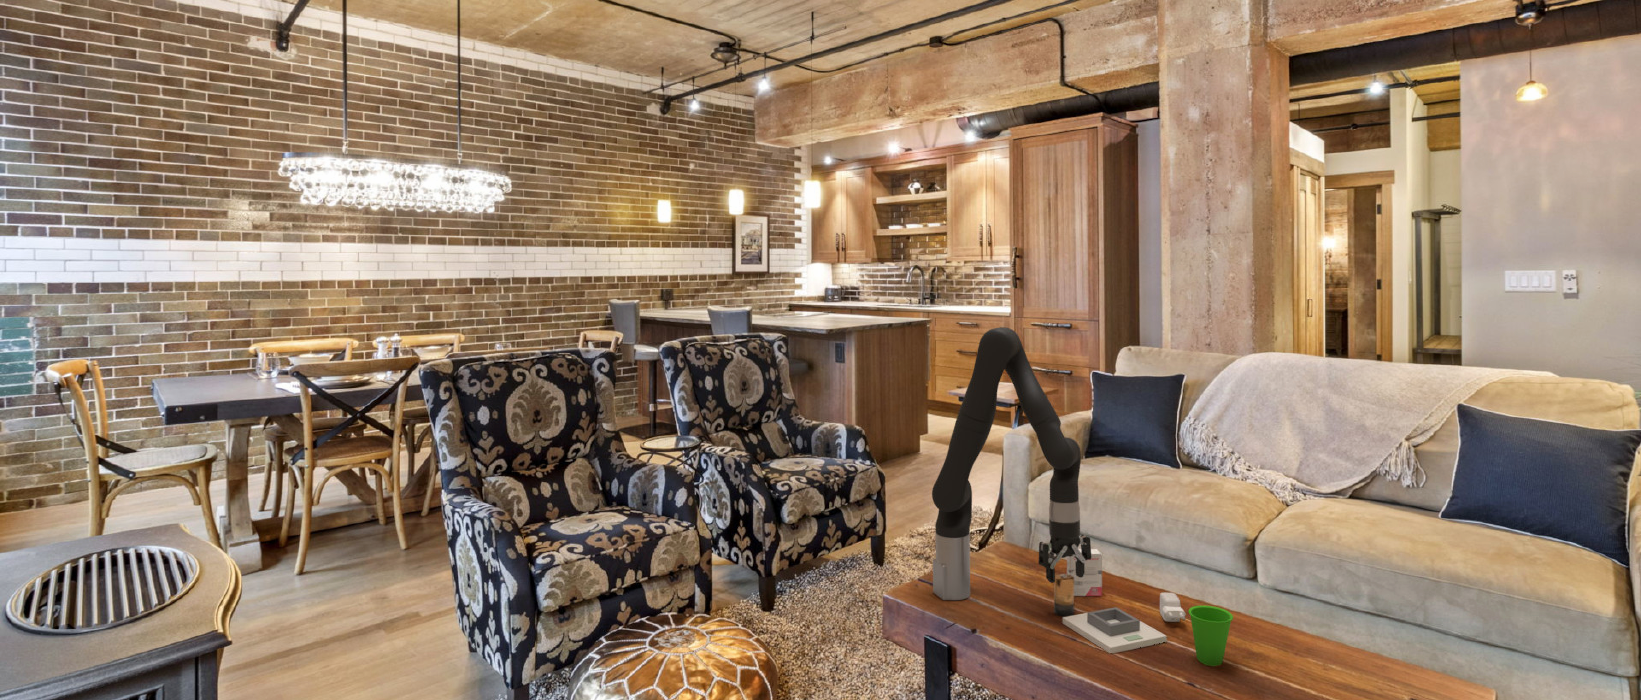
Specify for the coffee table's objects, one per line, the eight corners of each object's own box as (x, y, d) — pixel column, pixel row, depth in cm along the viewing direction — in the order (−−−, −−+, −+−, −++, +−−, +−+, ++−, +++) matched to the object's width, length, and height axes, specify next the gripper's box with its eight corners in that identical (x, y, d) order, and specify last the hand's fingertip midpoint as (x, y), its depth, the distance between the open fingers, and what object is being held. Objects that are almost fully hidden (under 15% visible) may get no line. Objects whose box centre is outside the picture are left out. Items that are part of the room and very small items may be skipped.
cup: (1229, 654, 188) (1230, 607, 187) (1234, 673, 179) (1236, 624, 178) (1185, 649, 191) (1186, 603, 190) (1189, 667, 182) (1190, 619, 181)
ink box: (1098, 589, 227) (1098, 547, 226) (1102, 596, 222) (1103, 554, 221) (1066, 589, 228) (1066, 547, 227) (1069, 596, 223) (1069, 553, 222)
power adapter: (1189, 632, 199) (1189, 609, 199) (1167, 632, 200) (1168, 608, 199) (1176, 613, 210) (1177, 591, 210) (1156, 613, 211) (1157, 590, 210)
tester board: (1110, 653, 189) (1110, 637, 189) (1062, 623, 206) (1062, 607, 206) (1166, 642, 195) (1166, 625, 194) (1115, 613, 211) (1115, 597, 211)
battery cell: (1061, 618, 209) (1061, 580, 208) (1050, 611, 214) (1050, 573, 213) (1077, 615, 211) (1077, 577, 210) (1066, 608, 215) (1066, 570, 214)
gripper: (1078, 509, 216) (1079, 570, 217) (1031, 517, 211) (1033, 578, 212) (1097, 517, 209) (1098, 579, 210) (1049, 524, 204) (1050, 588, 205)
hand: (1065, 579), depth 211 cm, fingers open, 8 cm apart
